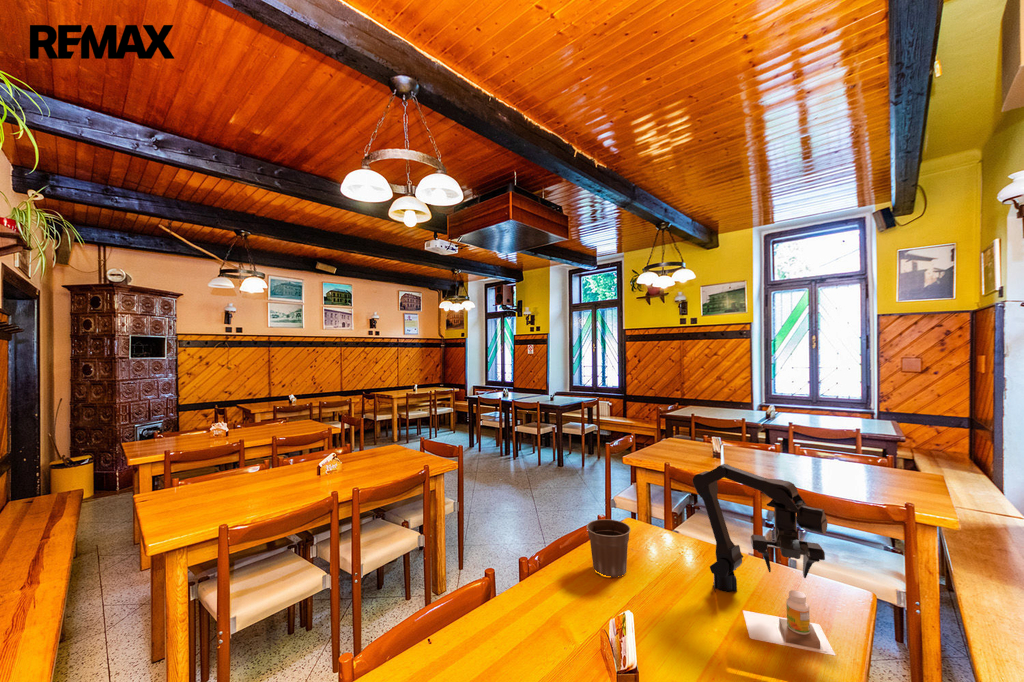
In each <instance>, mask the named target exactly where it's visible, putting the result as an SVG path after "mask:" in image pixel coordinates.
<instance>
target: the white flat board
mask: <svg viewBox="0 0 1024 682" xmlns="http://www.w3.org/2000/svg"><path fill="white" fill-rule="evenodd" d="M742 613H743V617H744V621H745V624H746V629H747V632H748V636H749V637H748V638H749V639H752V640H756V641H762V642H767V643H770V644H777V645H781V646H787V647H791V648H796V649H800V650H801V649H802V650H805V651H810V652H815V653H820V654H826V655H831V656H835V657H836V652H835V651H834V649H833V648H832V646H831V644H830V642H829V640H828V637H827V636H826V635H825V632H824V631H823V630H824V629H823V628H822V627H821V625H820V624H819V623H814V622H810V624H812V626H813V628H814V630H815V632H816V634H817V636H818V638H819V640H820V649H817V648H812V647H807V646H802V645H797V644H792V643H787V642H786V641H785V639H784V636H783V633H782V631H781V628H780V625H779V618H781V619H786V620H787V617H781V616H777V615H776V616H775V615H770V614H766V613H759V612H753V611H748V610H742Z"/></svg>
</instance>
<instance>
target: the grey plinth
mask: <svg viewBox="0 0 1024 682" xmlns="http://www.w3.org/2000/svg"><path fill="white" fill-rule="evenodd" d="M779 625H780V628H781V631H782V633H783V636H784V639H785V641H786V642H787V643H792V644H797V645H802V646H807V647H812V648H817V649H820V640H819V638H818V636H817V634H816V632H815V630H814V628H813V626H812V624H810V633H809V634H806V635H802V634H798V633H795V632H793V631H792V630H790V629H789V628H788V626H787V620H786V619H781V618H779Z"/></svg>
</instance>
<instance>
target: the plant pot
mask: <svg viewBox="0 0 1024 682" xmlns="http://www.w3.org/2000/svg"><path fill="white" fill-rule="evenodd" d="M586 530H587V535H588V539H589V541H590V552H591V558H592V566H593V567H594V569H595V570H596V571H597V572H599V573H601V574H603V575H606V576H611V577H613V578H617V577H618V576H622V575H624V574H625V573H626V574H627V566H628V564H627V563H628V550H629V549H628V547H629V546H628V545H629V540H630V533H631V527H630V525H628V524H627V523H625V522H623V521H620V520H616V519H606V518H603V519H601V518H600V519H595V520H592V521H589V522H588V523H587V524H586ZM593 567H592V568H593ZM594 569H593V570H594ZM626 574H625V575H626ZM625 575H624V576H625ZM622 577H623V576H622Z"/></svg>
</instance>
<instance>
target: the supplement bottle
mask: <svg viewBox="0 0 1024 682" xmlns="http://www.w3.org/2000/svg"><path fill="white" fill-rule="evenodd" d="M788 597H789V598H787V599H786V603H785V605H786V618H787V626H788V628H789V629H790V630H792V631H793V632H795V633H798V634H802V635H806V634H809V633H810V623H811V618H810V605H809V604H808V603H807V597H806V594H805V593H804V592H801V591H799V590H795V589H794V590H793V589H791V590H789V592H788Z"/></svg>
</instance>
